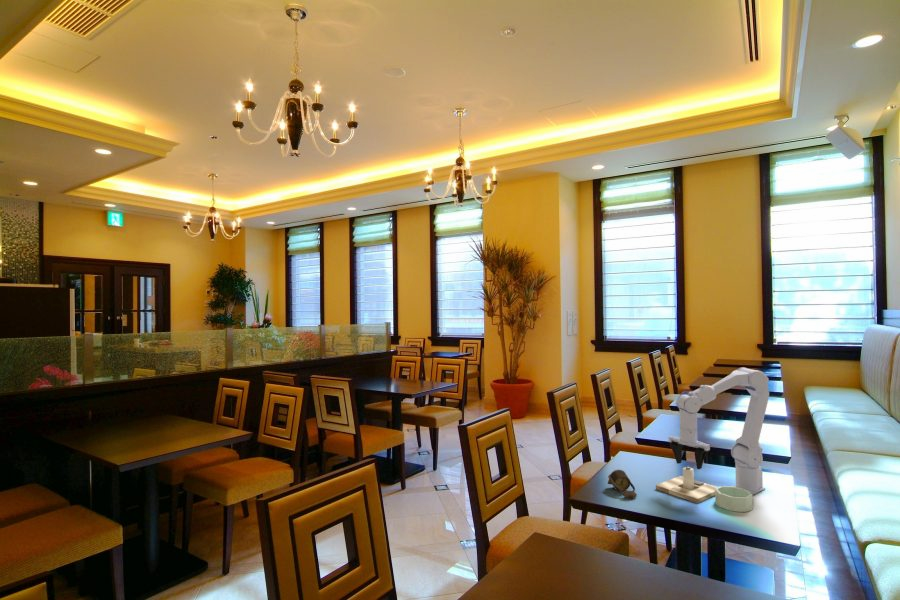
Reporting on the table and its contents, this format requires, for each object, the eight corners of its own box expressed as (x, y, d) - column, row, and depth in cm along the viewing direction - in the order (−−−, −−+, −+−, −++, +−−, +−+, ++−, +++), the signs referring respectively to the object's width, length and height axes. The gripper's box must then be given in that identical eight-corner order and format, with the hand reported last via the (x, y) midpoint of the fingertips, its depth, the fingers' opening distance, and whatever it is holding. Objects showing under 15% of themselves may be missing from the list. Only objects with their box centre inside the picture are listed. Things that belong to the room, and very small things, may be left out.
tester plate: (680, 479, 196) (680, 474, 196) (721, 492, 183) (721, 486, 183) (655, 489, 187) (655, 483, 187) (697, 503, 174) (697, 497, 174)
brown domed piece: (636, 472, 190) (609, 464, 192) (640, 481, 177) (611, 473, 180) (632, 491, 189) (605, 483, 192) (636, 501, 177) (607, 493, 180)
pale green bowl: (725, 496, 179) (725, 483, 179) (758, 506, 170) (758, 493, 170) (709, 503, 173) (708, 490, 173) (742, 514, 164) (742, 501, 164)
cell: (686, 488, 187) (686, 465, 187) (696, 491, 184) (695, 467, 184) (681, 490, 185) (680, 467, 185) (690, 493, 182) (690, 469, 182)
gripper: (663, 426, 188) (664, 462, 188) (702, 434, 176) (702, 473, 176) (674, 423, 192) (674, 459, 192) (712, 431, 180) (713, 469, 180)
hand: (689, 465), depth 184 cm, fingers open, 7 cm apart
